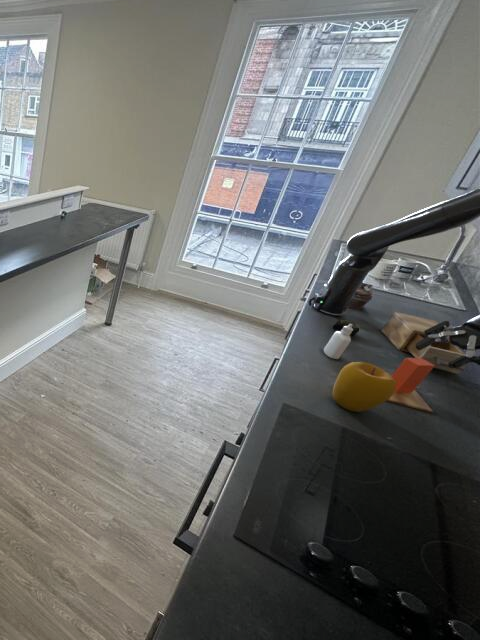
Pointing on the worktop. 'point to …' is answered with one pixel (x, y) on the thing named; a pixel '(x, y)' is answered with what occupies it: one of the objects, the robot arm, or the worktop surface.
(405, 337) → the cabinet
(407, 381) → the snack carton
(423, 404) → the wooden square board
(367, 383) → the apple
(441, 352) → the drawer
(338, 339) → the eye dropper bottle
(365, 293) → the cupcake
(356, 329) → the tape measure
